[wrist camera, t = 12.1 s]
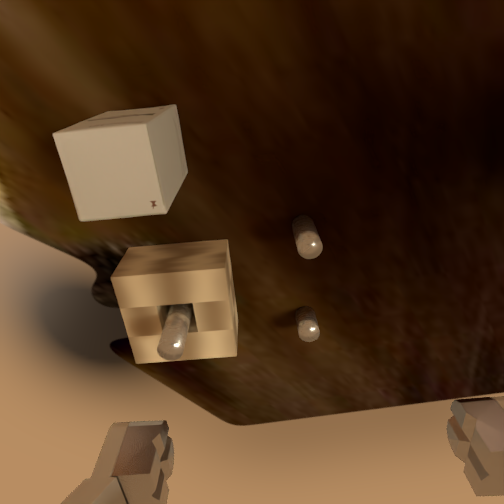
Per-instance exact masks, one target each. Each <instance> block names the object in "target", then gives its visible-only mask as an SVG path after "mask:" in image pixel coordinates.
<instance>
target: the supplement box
mask: <svg viewBox="0 0 504 504" xmlns="http://www.w3.org/2000/svg"><path fill="white" fill-rule="evenodd" d="M52 135H53V138H54V141H55V144H56V147H57V150H58V153H59V156H60V159H61V162H62V165H63V168H64V171H65V174H66V177H67V181H68V184H69V188H70V191H71V194H72V198H73V201H74V204H75V208H76V211H77V214H78V218H79V220H80V221H94V220H104V219H114V218H128V217H136V216H146V215H157V214H166V213H167V212H168V210H169V208H170V206H171V204H172V202H173V200H174V198H175V196H176V194H177V192H178V190H179V189H180V187H181V185H182V183H183V181H184V179H185V177H186V175H187V173H188V170H187V164H186V158H185V153H184V146H183V141H182V135H181V129H180V123H179V117H178V111H177V106H176V105H175V104H173V105H167V106H160V107H152V108H141V109H131V110H120V111H107V112H105V113H102V114H99V115H97V116H94V117H92V118H89V119H87V120H84V121H81V122H79V123H77V124H74V125H72V126H70V127H67V128H65V129H62V130H60V131H57V132H55V133H53V134H52Z"/></svg>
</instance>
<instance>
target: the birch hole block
mask: <svg viewBox="0 0 504 504" xmlns="http://www.w3.org/2000/svg"><path fill="white" fill-rule="evenodd" d="M111 281H112V284H113V287H114V291H115V294H116V297H117V301H118V304H119V307H120V310H121V314H122V317H123V321H124V324H125V327H126V331H127V334H128V337H129V341H130V344H131V347H132V351H133V354H134V358H135V361H136V364H138V363H152V362H165V361H170V360H165V359H163V358H162V357H160V356H159V354H158V352H157V347H158V344H159V341H160V338H161V334H162V331H163V328H164V325H165V322H166V319H167V315H168V312H169V309H170V306H171V305H173V304H186V303H193V311H192V316H191V320H190V325H189V329H188V333H187V338H186V342H185V347H184V351H183V355H182V356H181V357H180V358H179V359H177V360H173V361H179V360H192V359H205V358H219V357H232V356H237V335H238V316H237V308H236V300H235V292H234V284H233V277H232V269H231V261H230V253H229V245H228V239H223V240H211V241H199V242H187V243H175V244H163V245H151V246H139V247H129V248H128V250H127V251H126V253H125V255H124V256H123V258H122V259H121V261H120V263H119V264H118V266H117V268H116V269H115V271H114V273H113V274H112V276H111Z"/></svg>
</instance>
